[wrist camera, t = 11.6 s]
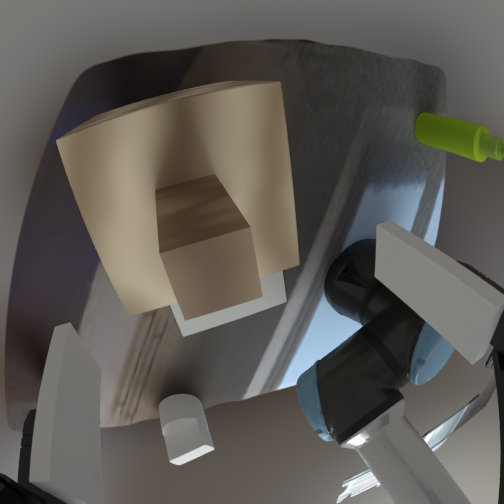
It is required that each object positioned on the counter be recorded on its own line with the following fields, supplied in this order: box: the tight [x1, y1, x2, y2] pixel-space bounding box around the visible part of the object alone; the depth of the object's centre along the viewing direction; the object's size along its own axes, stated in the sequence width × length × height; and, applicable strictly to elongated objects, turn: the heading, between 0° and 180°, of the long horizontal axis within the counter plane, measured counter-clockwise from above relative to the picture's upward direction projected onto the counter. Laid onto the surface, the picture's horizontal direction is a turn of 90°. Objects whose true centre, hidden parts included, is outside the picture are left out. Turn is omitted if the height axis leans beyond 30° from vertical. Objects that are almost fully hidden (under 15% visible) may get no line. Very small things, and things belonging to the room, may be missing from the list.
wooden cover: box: [56, 81, 299, 321], centre depth 24 cm, size 14×14×24 cm
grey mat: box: [170, 270, 287, 337], centre depth 46 cm, size 18×18×1 cm
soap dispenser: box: [414, 113, 504, 162], centre depth 38 cm, size 6×7×20 cm
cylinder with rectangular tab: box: [158, 394, 214, 465], centre depth 53 cm, size 9×9×12 cm
